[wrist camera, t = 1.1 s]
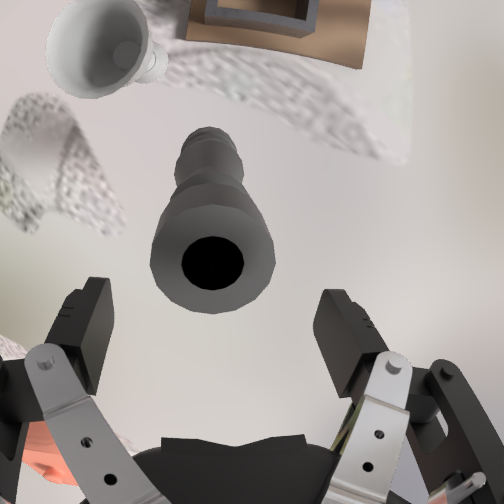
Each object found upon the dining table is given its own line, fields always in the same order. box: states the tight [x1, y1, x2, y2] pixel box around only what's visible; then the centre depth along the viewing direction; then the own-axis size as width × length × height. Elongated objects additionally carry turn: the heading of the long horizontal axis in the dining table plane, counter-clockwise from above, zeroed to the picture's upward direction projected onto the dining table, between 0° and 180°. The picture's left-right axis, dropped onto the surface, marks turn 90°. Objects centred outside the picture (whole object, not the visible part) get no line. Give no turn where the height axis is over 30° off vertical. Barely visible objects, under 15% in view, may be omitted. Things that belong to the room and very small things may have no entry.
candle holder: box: [150, 127, 276, 314], centre depth 25 cm, size 6×6×25 cm
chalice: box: [45, 0, 169, 99], centre depth 22 cm, size 7×7×18 cm
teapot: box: [22, 421, 79, 486], centre depth 51 cm, size 25×23×18 cm
